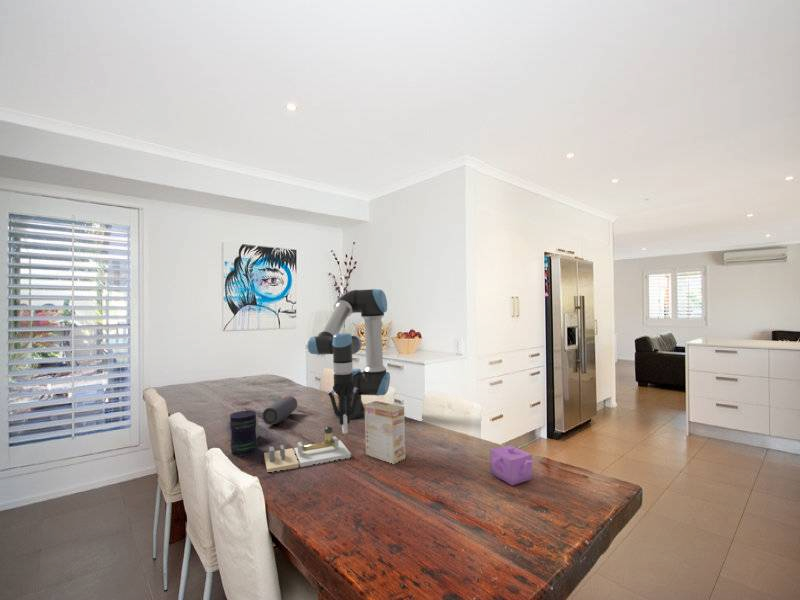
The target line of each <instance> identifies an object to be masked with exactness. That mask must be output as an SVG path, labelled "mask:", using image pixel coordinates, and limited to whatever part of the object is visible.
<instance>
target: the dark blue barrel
mask: <svg viewBox="0 0 800 600" xmlns="http://www.w3.org/2000/svg"><path fill="white" fill-rule="evenodd" d="M256 414H257V412H256V411H255V410H241V411H236V412H233V413H230V415H229V418H230V419H229V425H230V427H229V429H230V432H231V433H230V436H231V438H230V450H231V451H230V454H231V455H232V456H236V457H241V456H243V455H244V456H248V455H251V454H254V453H256V451H257V450H258V438H257V436H256ZM253 452H254V453H253Z"/></svg>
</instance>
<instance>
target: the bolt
mask: <svg viewBox="0 0 800 600" xmlns="http://www.w3.org/2000/svg"><path fill="white" fill-rule="evenodd" d="M333 432H334V430H333V428H332V427H331V426H327V427H325V428H324V442H319V443H318V442H317V443H313V444H306V445H303V451H309V450H315V449H321V448H326V447H332V446H335V441H333Z"/></svg>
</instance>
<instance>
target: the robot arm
mask: <svg viewBox="0 0 800 600" xmlns="http://www.w3.org/2000/svg"><path fill="white" fill-rule="evenodd" d="M387 311H388V301H387V296H386V293H385V292H384V290H382V289H377V288H373V289H372V288H370V289H354V290H353V289H352V290H349V291H347V292H346V293H344V294H343V295H341V296H340V297H339V298H338V299H337V300H336V302H335V303H334V304H333V311H332V312H331V314H330V315H329V317H328V319H327V320H326V322H325V324H324V325H323V327H322V329H321V330H320V332H319V333H318V334H317V336H316V335H315V336H310V337H309V339H308V340H307V350H308V352H309V354H311V355H318V356H319V355H333V356H332V358H333V361H332V362H333V373H334V374H333V386H332V389H331V390H328V391H327V393H326V394H327V395H328V396H329V399H330V402H331V406H332V411H333V414H334V415H335V417H336V418H338V419H339V421H338V422H339V424H340V426H341V432H342V434H348V433H349V431H348V424H350V421H351V419H352V420H353V419H358V418H361V417H363V416H364V417H365V404H364V403H363V400H362V396H377V397H378V396H385V395H386V394H387V393H388V391H389V388H390V383H391V382H390V381H391V376H390V374H391V373H390V372H388V371H387V368H386V366H385V365H384V359H383V357H384V356H383V354H384V353H383V336H382V335H383V333H382V332H383V331H382V319H383V317H384V316H385V313H386V312H387ZM356 313H357V314H359V313H360V315H361V316H360V317H361V318H362V319H364V338H365V339H364V341H365V342H364V343H365V367H364V368H363V371H362V370H361V369H360V368H354V367H353V365H354V364H353V355H354V354H356V353H358V352H359V351H360V350H361V348H362V345H363V343H362V340H361V338H360V337H359V336H358V335H352V334H351V333H347V332H346V333H340V332H341V330H342V328H343V327H344V325H345V323H346V320H347V318H349V317H350V316H352V314H356ZM335 394H336V395H337V397H338V399H337V400H338V403H336V399H335Z"/></svg>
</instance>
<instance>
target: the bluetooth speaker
mask: <svg viewBox="0 0 800 600" xmlns="http://www.w3.org/2000/svg"><path fill="white" fill-rule="evenodd" d="M297 407H298V402H297V399H296V398H295V397H294V396H292V395H288V396H285V397H282V398H281V399H279V400H277V401H275V402H273V403H272V404H270V405H269V406H268V407H266V408H265V409H264V410H263V412H262V415H261V417H262V421H263V422H264V423H265V425H269V426H273V425H275V424H280V423H282V422H284V421H285V420H286V419H288V417H289V416H290V415H291V414H292V413H293V412H294V411H295V410H296V409H297ZM284 419H285V420H284ZM283 420H284V421H283ZM281 421H282V422H281Z"/></svg>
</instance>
